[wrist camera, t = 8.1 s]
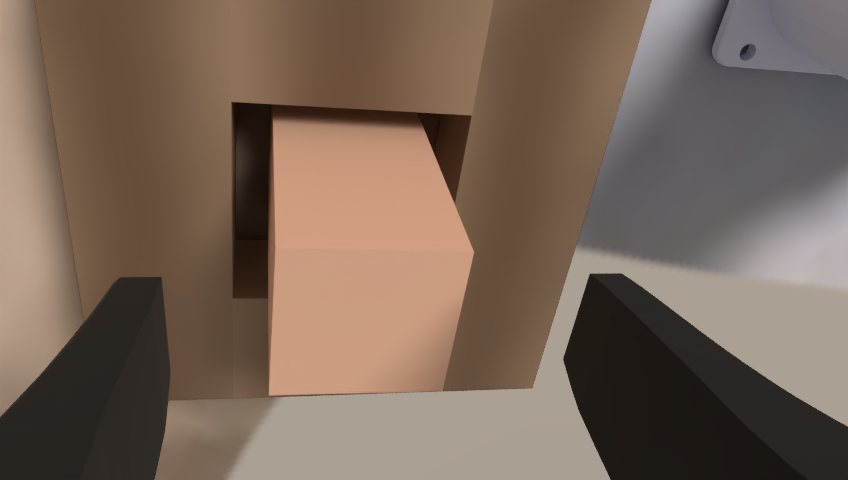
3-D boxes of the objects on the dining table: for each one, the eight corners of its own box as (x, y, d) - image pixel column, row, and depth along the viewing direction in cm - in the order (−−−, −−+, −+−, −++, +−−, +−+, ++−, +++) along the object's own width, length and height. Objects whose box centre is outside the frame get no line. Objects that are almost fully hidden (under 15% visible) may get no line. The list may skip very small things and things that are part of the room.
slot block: (611, -58, 20) (660, -30, 17) (508, 330, 27) (532, 388, 25) (55, -123, 17) (19, -101, 14) (113, 336, 24) (96, 402, 22)
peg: (410, 96, 21) (474, 252, 15) (393, 211, 23) (442, 391, 17) (272, 86, 20) (274, 248, 14) (267, 207, 22) (268, 395, 16)
